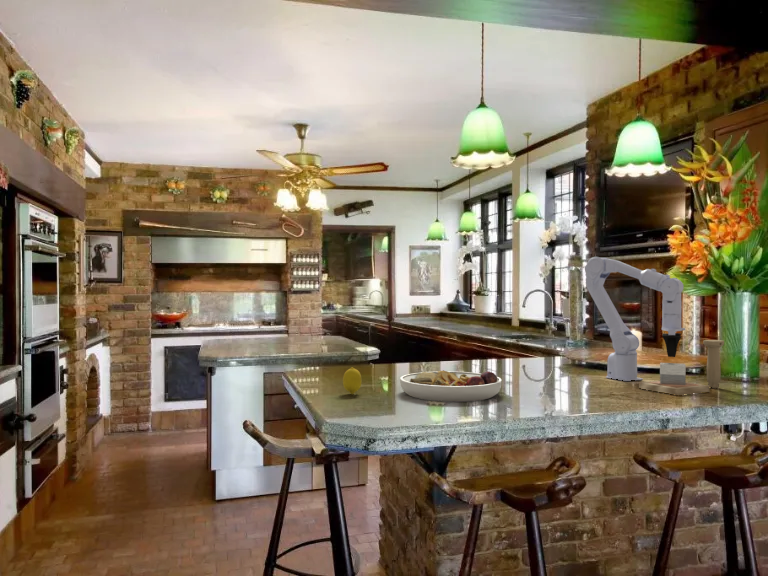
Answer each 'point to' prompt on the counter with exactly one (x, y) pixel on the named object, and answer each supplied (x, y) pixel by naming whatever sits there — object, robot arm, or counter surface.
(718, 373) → the handle
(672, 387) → the stand
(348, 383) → the lemon
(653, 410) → the counter surface
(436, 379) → the bowl
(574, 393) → the counter surface
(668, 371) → the block
